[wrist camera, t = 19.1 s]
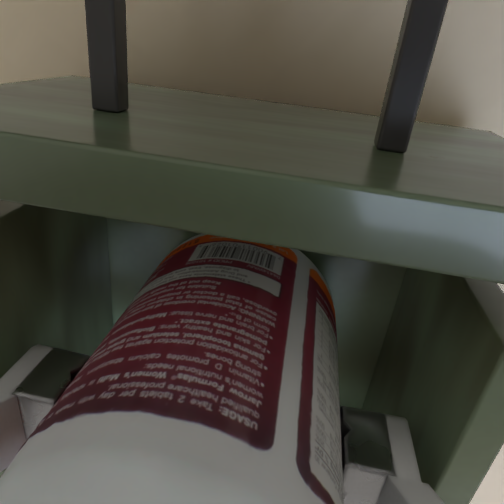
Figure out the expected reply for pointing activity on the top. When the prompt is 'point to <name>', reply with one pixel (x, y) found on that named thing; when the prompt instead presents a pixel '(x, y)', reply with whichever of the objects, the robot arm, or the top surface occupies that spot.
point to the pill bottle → (200, 391)
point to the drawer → (271, 226)
